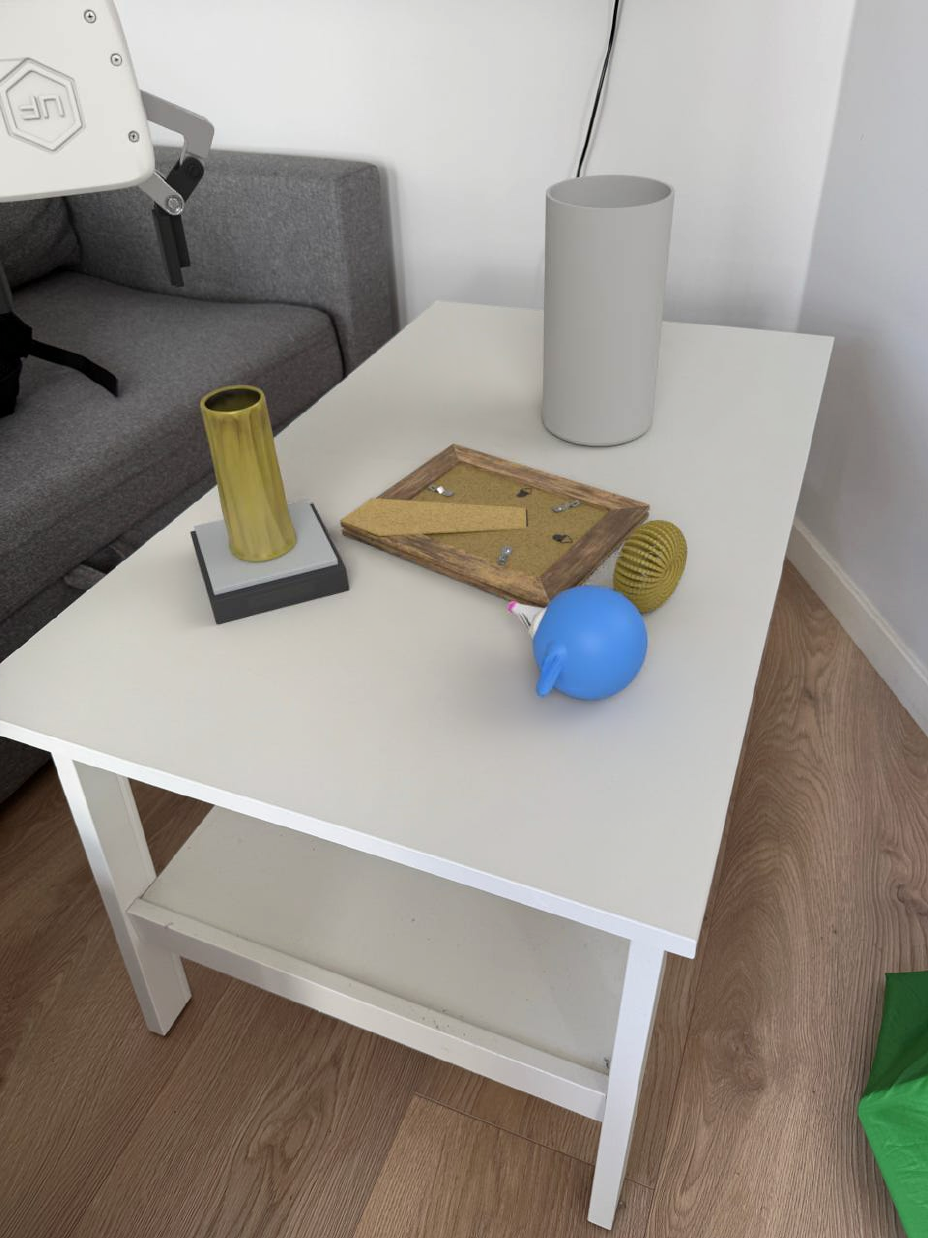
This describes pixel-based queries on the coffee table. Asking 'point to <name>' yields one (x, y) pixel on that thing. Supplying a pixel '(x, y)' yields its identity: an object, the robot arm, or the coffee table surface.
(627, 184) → the cylinder vase
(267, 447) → the vase
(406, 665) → the coffee table surface
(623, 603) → the blue mole toy
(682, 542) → the sculpture
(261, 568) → the scale
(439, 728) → the coffee table surface
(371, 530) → the picture frame
